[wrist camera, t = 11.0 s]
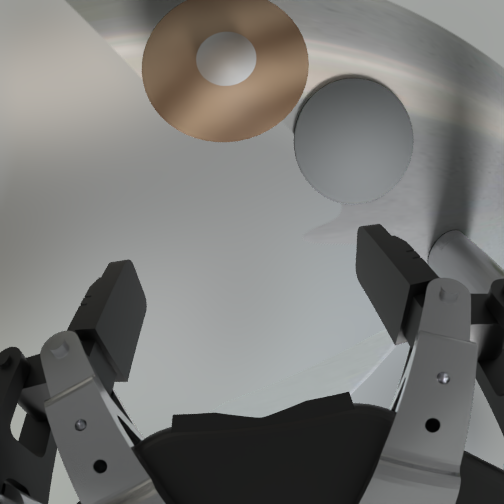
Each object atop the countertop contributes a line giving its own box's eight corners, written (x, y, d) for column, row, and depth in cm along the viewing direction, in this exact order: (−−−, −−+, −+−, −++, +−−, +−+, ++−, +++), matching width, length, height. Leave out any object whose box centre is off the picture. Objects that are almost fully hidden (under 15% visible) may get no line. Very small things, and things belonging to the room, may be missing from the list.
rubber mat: (427, 160, 38) (429, 161, 37) (338, 225, 42) (339, 227, 41) (372, 56, 30) (374, 55, 29) (266, 127, 34) (266, 127, 34)
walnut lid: (335, 81, 24) (363, 83, 19) (213, 170, 27) (212, 192, 22) (239, -32, 17) (244, -58, 12) (114, 63, 21) (87, 61, 16)
